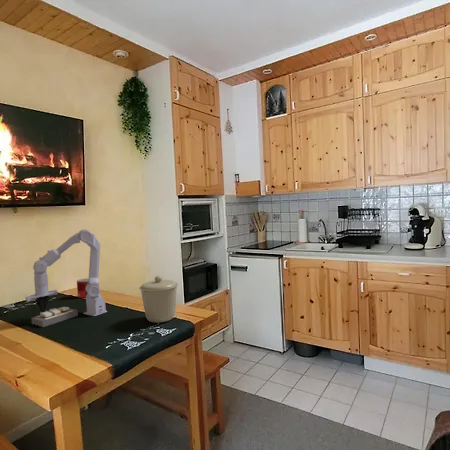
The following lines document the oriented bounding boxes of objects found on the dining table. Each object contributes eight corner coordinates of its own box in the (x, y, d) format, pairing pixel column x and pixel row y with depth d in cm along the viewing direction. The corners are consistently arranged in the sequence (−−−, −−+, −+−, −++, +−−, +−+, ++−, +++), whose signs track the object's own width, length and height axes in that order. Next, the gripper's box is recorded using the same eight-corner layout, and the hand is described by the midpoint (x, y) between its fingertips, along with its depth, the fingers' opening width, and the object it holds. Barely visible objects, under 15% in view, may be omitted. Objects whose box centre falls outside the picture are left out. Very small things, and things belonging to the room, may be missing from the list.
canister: (163, 311, 173) (160, 270, 172) (187, 317, 162) (185, 274, 161) (133, 321, 159) (130, 277, 158) (158, 328, 148) (155, 281, 147)
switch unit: (77, 315, 172) (77, 309, 172) (42, 327, 157) (42, 320, 157) (66, 313, 178) (66, 307, 178) (31, 323, 163) (31, 317, 162)
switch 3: (69, 309, 171) (68, 307, 171) (63, 311, 168) (63, 308, 168) (63, 308, 174) (63, 306, 174) (57, 310, 171) (57, 308, 171)
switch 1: (52, 315, 163) (51, 313, 163) (45, 317, 161) (45, 315, 161) (46, 312, 166) (46, 310, 166) (40, 314, 164) (40, 312, 163)
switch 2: (60, 313, 167) (60, 310, 167) (54, 314, 165) (55, 312, 164) (54, 309, 170) (54, 307, 170) (49, 311, 167) (49, 309, 167)
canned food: (88, 298, 206) (87, 280, 206) (75, 299, 206) (74, 281, 206) (93, 295, 214) (92, 278, 213) (81, 295, 214) (80, 278, 213)
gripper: (51, 281, 172) (53, 306, 173) (21, 287, 160) (23, 315, 161) (59, 282, 168) (60, 308, 169) (29, 288, 156) (31, 317, 157)
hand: (43, 312), depth 165 cm, fingers closed, pressing on switch 1
